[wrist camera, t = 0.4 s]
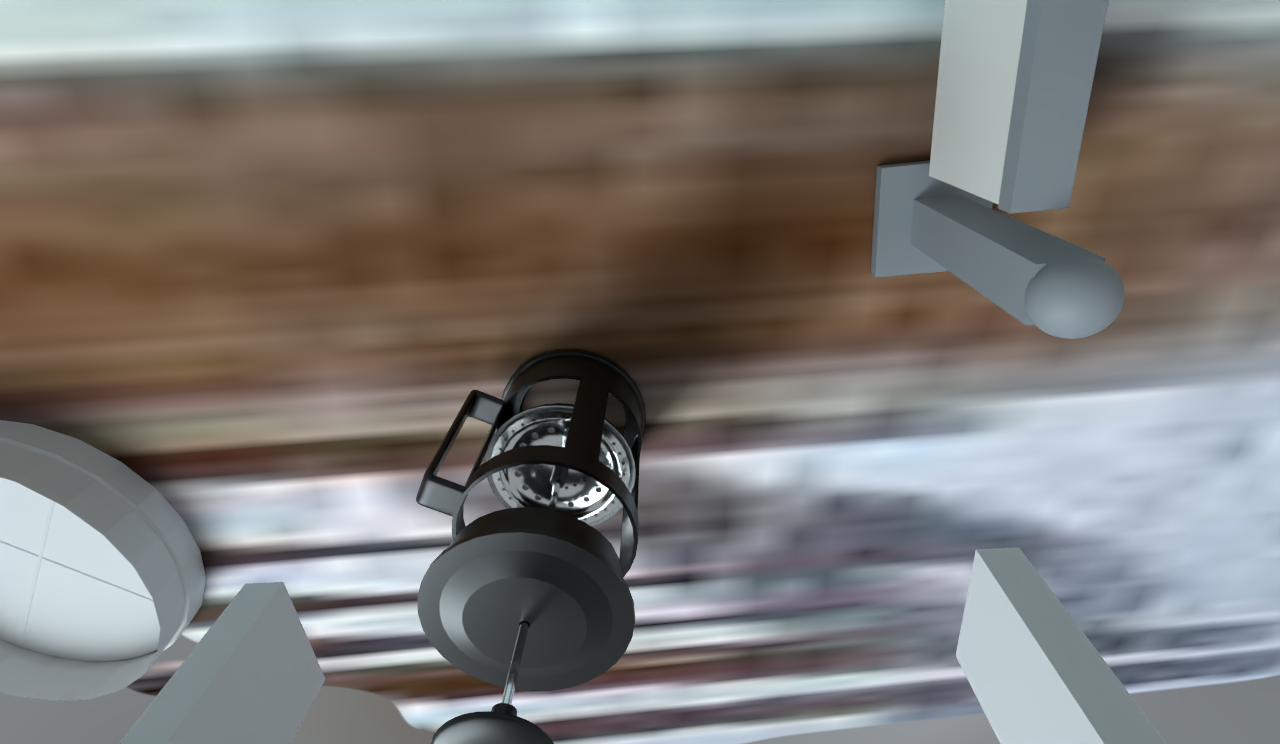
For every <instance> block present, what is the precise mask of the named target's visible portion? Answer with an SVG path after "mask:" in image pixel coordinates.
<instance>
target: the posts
mask: <svg viewBox="0 0 1280 744" xmlns="http://www.w3.org/2000/svg"><path fill="white" fill-rule="evenodd" d="M929 168H930V161H921V162H911V163H901V164H891V165H881V166H877V174H876V191H875V208H874V225H873V243H872V260H871V274H872V275H873V276H874V277H875V278H876V277H887V276H898V275H909V274H920V273H932V272H943V271H950V272H951V273H953V274H954V275H955V276H957V277H958V278H960V279H961V280H962V281H964V282H965V283H967V284H968V285H969V286H971V287H972V288H974V289H975V290H977V291H978V292H979V293H981V294H982V295H984V296H985V297H986V298H988V299H989V300H991V301H992V302H993V303H995V304H996V305H998V306H999V307H1001V308H1002V309H1003V310H1005V311H1006V312H1008V313H1009V314H1010V315H1012V316H1013V317H1015V318H1016V319H1017V320H1019V321H1020V322H1022V323H1023V324H1024V325H1026V326H1027V325H1036V326H1037V327H1038V328H1040V329H1041V330H1043V331H1044V332H1046V333H1048V334H1050V335H1053V336H1056V337H1060V338H1069V339H1070V338H1082V337H1087V336H1090V335H1093V334H1095V333H1097V332H1100V331H1101V330H1103V329H1105V328H1106V327H1107V326H1108V325H1110V324H1111V323H1112V322H1113V321H1114V320H1115V318H1116V317H1117V316H1118V314H1119V313H1120V311H1121V309H1122V306H1123V303H1124V297H1125V291H1124V286H1123V282H1122V280H1121V278H1120V276H1119V275H1118V273H1117V272H1116V271H1115V270H1114V269H1113V268H1112V267H1111V266H1110V265H1108V264H1107V263H1105V258H1104V257H1102V256H1099V255H1097V254H1095V253H1092V252H1090V251H1088V250H1086V249H1083V248H1081V247H1079V246H1076V245H1074V244H1072V243H1069V242H1067V241H1065V240H1063V239H1060V238H1058V237H1056V236H1053V235H1051V234H1049V233H1046V232H1044V231H1042V230H1039V229H1037V228H1035V227H1033V226H1030V225H1028V224H1026V223H1023V222H1021V221H1019V220H1016V219H1014V218H1012V217H1010V216H1007V215H1005V214H1003V213H1000V212H998V211H996V210H993V209H992V206H993V202H991V201H989V200H986V199H984V198H981V197H979V196H977V195H974V194H972V193H969V192H967V191H964V190H962V189H960V188H957V187H955V186H952V185H950V184H947V183H945V182H943V181H940V180H938V179H935V178H933V177H931V176H929Z"/></svg>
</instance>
